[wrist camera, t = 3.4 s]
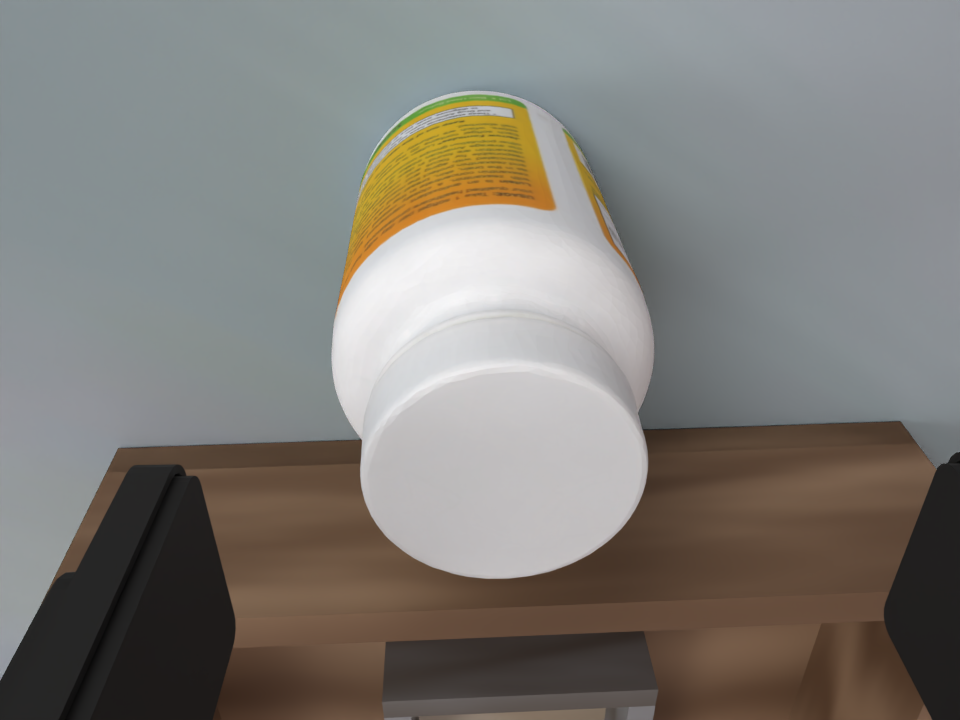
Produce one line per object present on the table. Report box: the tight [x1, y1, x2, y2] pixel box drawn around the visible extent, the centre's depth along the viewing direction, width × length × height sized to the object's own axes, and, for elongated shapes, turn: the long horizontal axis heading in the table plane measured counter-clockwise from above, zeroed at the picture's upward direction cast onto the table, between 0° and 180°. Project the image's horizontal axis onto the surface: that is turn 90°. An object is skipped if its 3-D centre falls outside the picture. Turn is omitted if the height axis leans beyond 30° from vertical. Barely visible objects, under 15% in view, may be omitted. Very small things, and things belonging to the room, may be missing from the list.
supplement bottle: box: [332, 91, 654, 579], centre depth 15 cm, size 5×5×10 cm
